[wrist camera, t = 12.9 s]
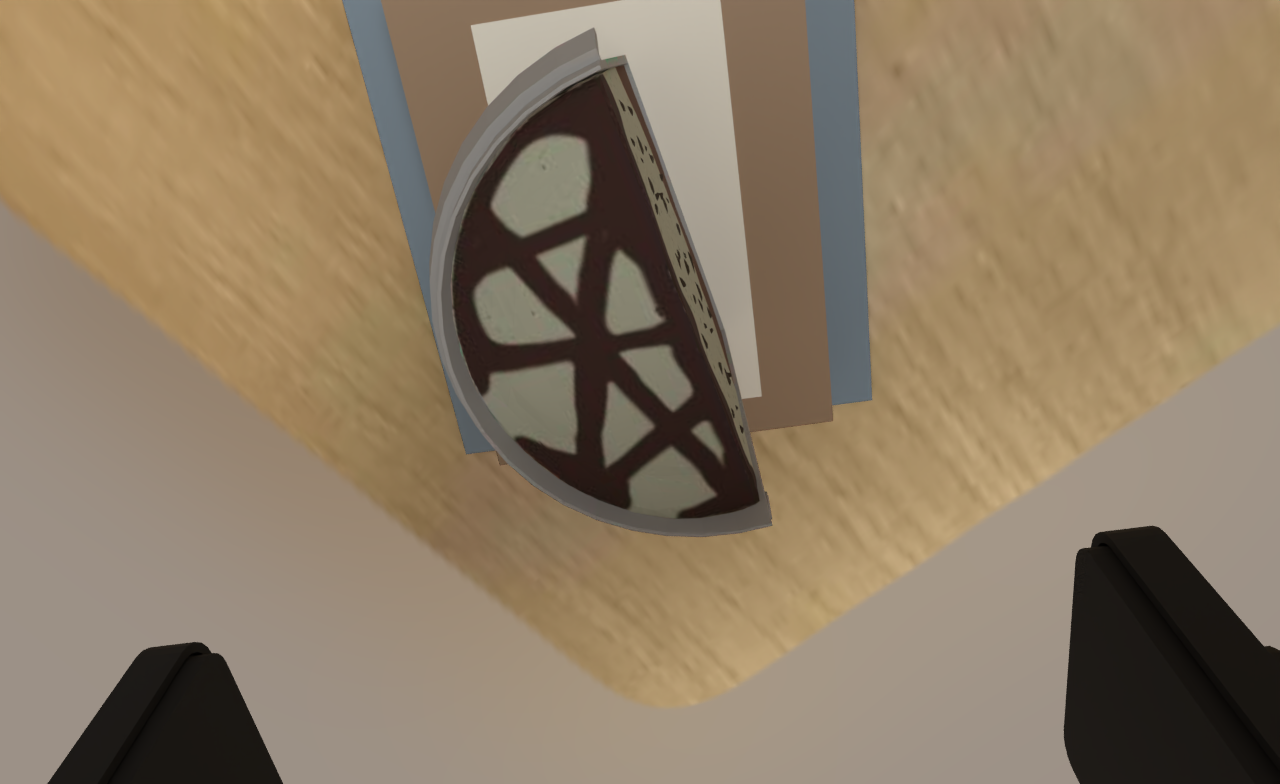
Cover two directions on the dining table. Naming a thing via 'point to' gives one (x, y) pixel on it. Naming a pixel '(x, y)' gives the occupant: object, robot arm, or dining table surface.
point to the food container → (589, 308)
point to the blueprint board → (673, 158)
